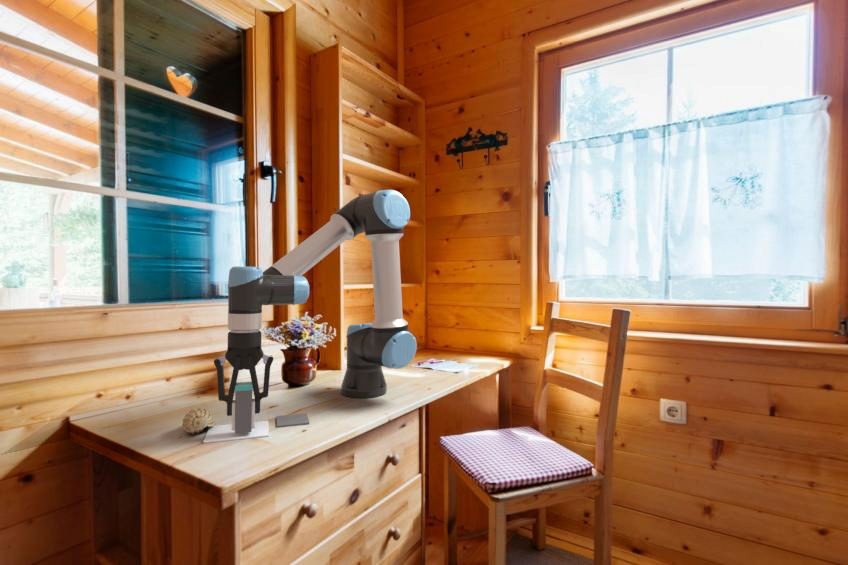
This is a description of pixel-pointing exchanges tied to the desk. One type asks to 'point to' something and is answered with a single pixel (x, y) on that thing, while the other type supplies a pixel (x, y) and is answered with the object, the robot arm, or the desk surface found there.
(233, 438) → the paper
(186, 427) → the seashell
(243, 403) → the marker
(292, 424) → the coaster
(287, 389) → the desk surface
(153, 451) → the desk surface
